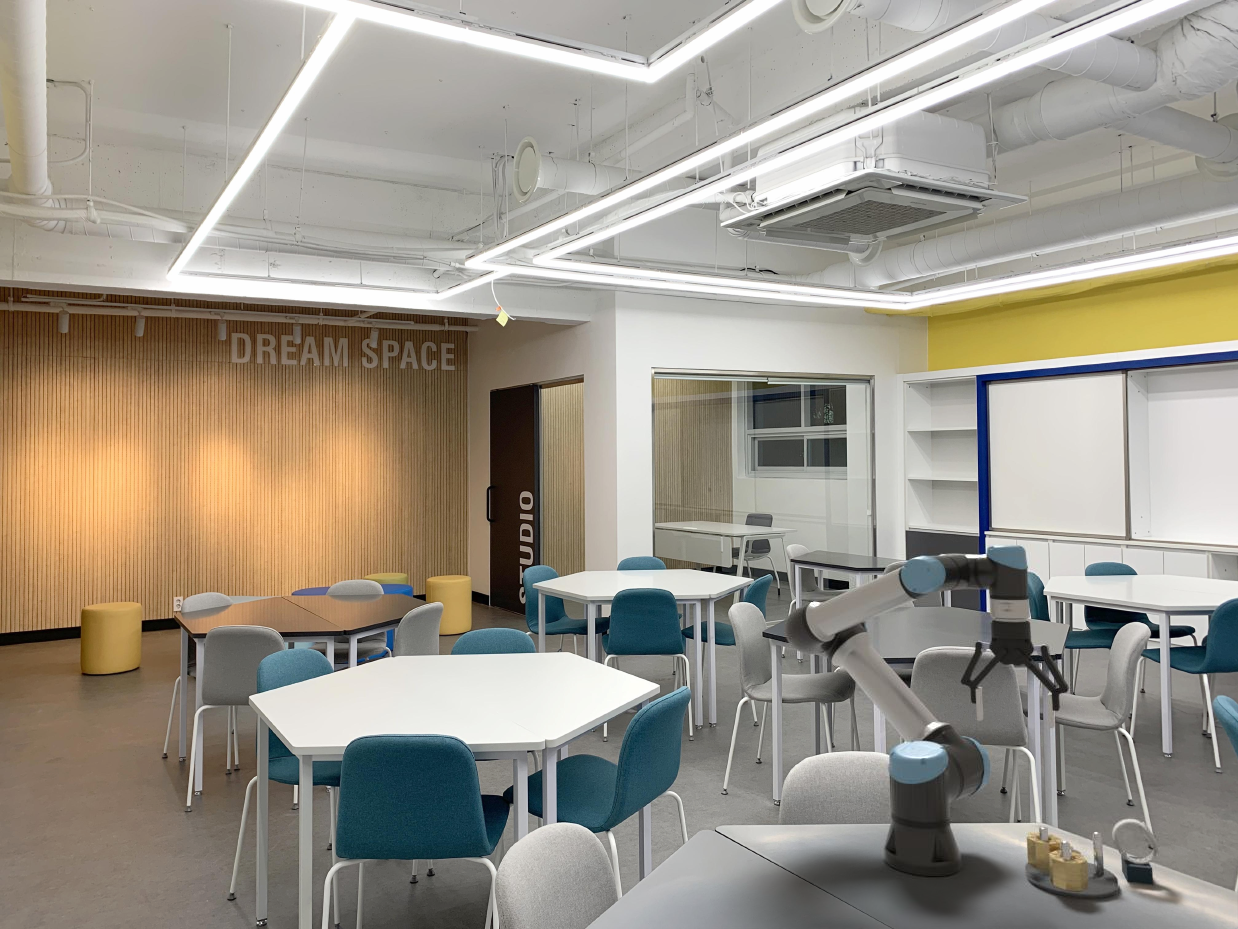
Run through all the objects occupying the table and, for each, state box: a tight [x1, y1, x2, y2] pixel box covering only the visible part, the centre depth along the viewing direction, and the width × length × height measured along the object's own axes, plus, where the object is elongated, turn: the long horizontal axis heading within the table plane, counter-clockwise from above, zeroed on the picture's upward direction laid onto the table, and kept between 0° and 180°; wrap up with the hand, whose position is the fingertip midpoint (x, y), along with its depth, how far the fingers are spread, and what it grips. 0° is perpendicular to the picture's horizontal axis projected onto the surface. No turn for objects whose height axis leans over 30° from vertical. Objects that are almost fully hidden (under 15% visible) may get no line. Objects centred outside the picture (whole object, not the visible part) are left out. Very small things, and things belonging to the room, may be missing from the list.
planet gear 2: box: [1049, 851, 1088, 891], centre depth 161 cm, size 6×6×5 cm
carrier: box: [1024, 826, 1119, 900], centre depth 166 cm, size 16×16×9 cm
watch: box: [1111, 818, 1161, 886], centre depth 167 cm, size 6×8×11 cm
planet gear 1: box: [1026, 831, 1062, 870], centre depth 171 cm, size 6×6×5 cm
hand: (1015, 723), depth 175 cm, fingers open, 13 cm apart
